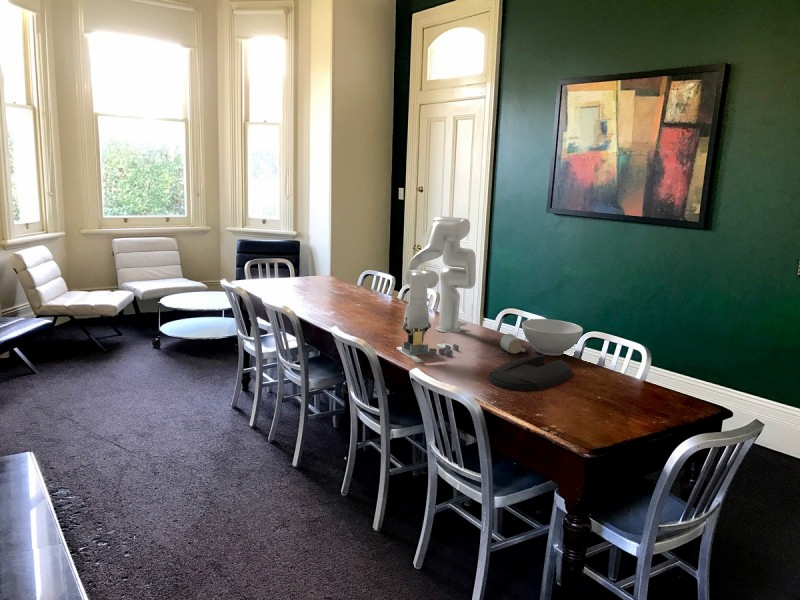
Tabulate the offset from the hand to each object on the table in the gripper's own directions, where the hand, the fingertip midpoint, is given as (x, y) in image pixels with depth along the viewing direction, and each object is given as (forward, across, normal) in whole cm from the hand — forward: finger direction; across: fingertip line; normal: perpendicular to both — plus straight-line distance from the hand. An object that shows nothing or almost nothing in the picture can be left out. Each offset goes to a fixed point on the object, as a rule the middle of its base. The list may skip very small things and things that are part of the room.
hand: (415, 342), depth 263 cm
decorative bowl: (+5, -62, +14) cm, 63 cm away
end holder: (+4, 0, 0) cm, 4 cm away
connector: (+1, 0, 0) cm, 1 cm away
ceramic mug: (+5, -45, +9) cm, 46 cm away
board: (+5, -8, +1) cm, 10 cm away
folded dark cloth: (+6, -30, +40) cm, 50 cm away
